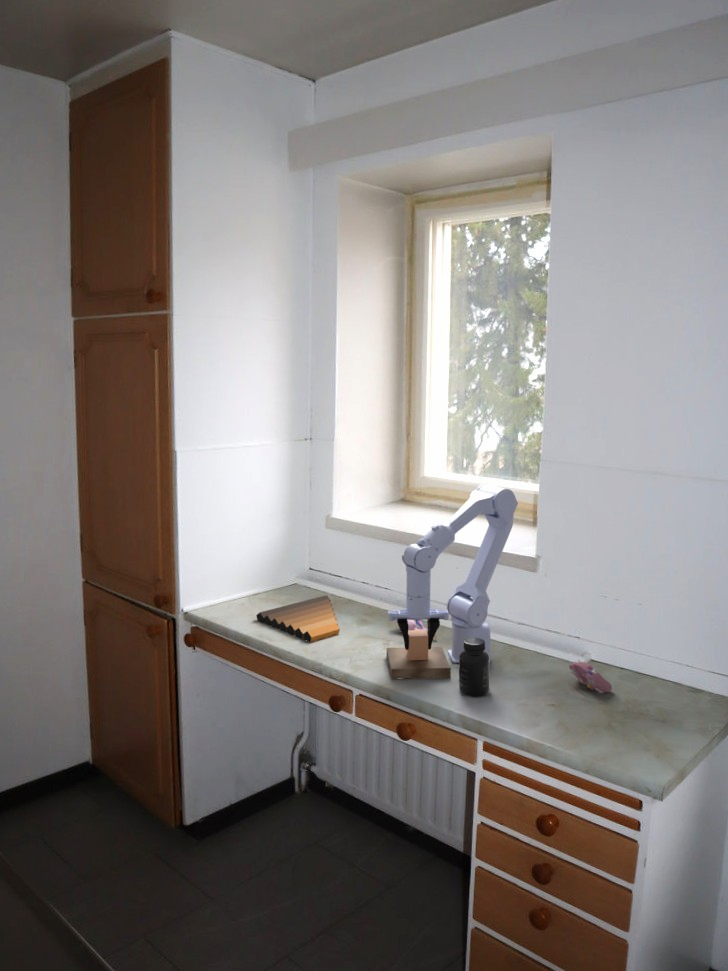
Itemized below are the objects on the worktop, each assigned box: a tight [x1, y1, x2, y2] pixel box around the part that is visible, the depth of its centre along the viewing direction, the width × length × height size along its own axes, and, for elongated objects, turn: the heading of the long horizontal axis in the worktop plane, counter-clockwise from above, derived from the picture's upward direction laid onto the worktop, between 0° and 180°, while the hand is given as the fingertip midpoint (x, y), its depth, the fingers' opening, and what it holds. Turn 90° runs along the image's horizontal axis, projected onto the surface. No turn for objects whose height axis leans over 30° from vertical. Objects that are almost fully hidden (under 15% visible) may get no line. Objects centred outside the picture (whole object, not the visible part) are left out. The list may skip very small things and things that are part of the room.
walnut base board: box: [386, 646, 452, 680], centre depth 198 cm, size 14×14×2 cm
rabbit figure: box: [393, 620, 438, 641], centre depth 220 cm, size 6×6×15 cm
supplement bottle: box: [458, 638, 491, 698], centre depth 183 cm, size 7×7×12 cm
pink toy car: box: [568, 660, 613, 694], centre depth 186 cm, size 10×5×7 cm, turn 21°
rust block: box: [407, 630, 428, 660], centre depth 197 cm, size 5×5×6 cm
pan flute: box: [256, 595, 341, 643], centre depth 232 cm, size 25×3×25 cm
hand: (417, 648), depth 197 cm, fingers open, 5 cm apart
